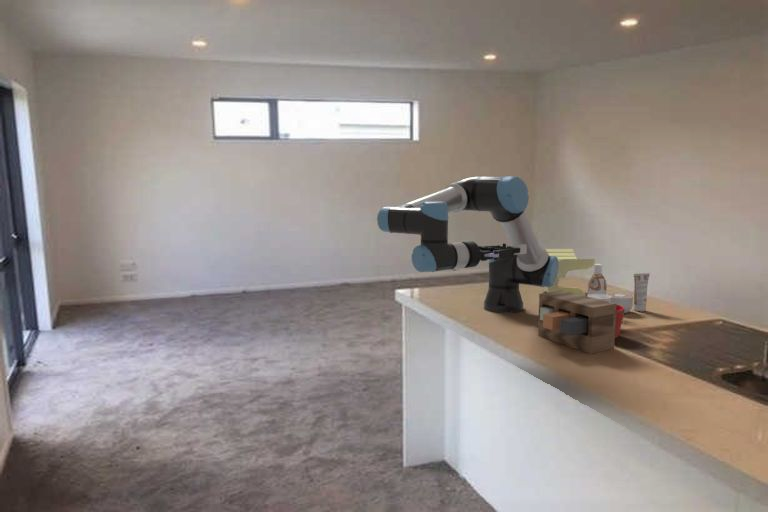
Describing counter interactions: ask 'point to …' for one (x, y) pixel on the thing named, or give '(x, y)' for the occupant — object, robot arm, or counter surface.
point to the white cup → (600, 297)
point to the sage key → (546, 311)
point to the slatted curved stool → (567, 268)
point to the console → (578, 305)
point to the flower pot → (618, 319)
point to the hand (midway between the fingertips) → (524, 248)
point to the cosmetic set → (626, 300)
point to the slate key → (574, 325)
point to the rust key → (554, 319)
